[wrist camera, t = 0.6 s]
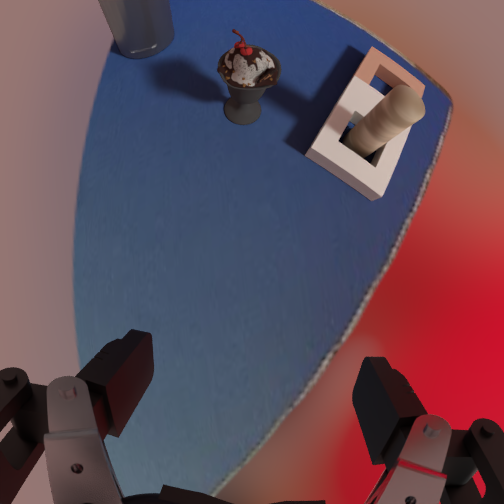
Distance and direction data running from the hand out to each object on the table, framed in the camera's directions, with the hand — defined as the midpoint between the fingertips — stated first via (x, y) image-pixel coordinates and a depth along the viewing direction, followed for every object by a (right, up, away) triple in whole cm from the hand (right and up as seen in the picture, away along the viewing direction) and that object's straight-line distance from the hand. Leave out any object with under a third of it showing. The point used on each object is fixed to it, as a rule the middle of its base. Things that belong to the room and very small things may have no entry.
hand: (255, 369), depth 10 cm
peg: (+14, +19, +27) cm, 37 cm away
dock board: (+18, +24, +28) cm, 41 cm away
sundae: (-1, +23, +26) cm, 35 cm away
